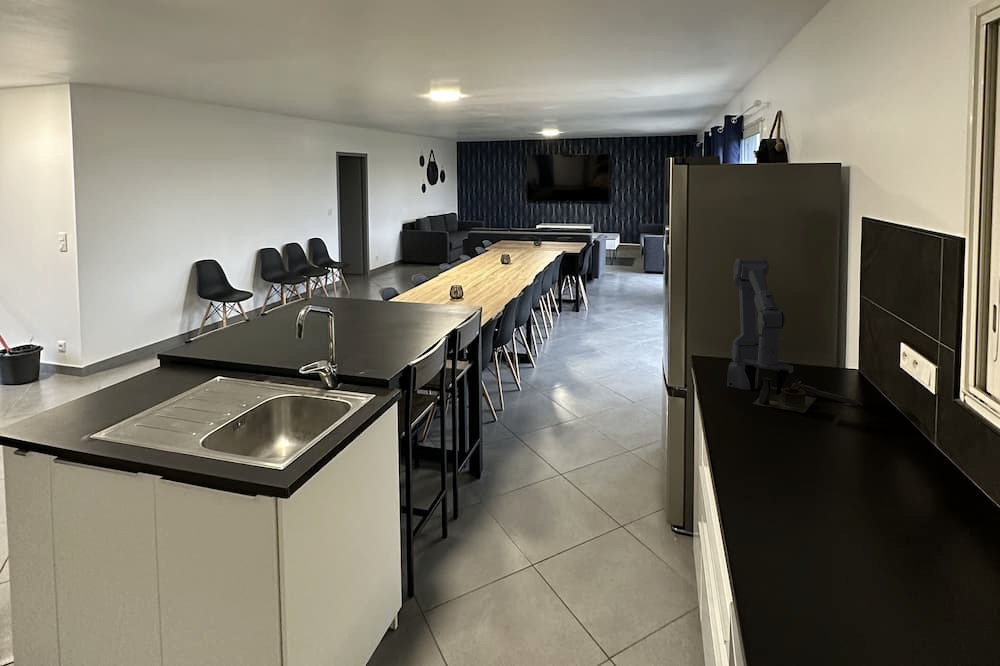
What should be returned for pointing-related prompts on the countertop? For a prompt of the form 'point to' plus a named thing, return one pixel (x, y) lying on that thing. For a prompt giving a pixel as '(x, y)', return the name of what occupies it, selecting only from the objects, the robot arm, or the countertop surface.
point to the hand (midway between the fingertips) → (765, 391)
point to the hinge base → (789, 399)
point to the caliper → (825, 394)
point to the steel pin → (765, 391)
